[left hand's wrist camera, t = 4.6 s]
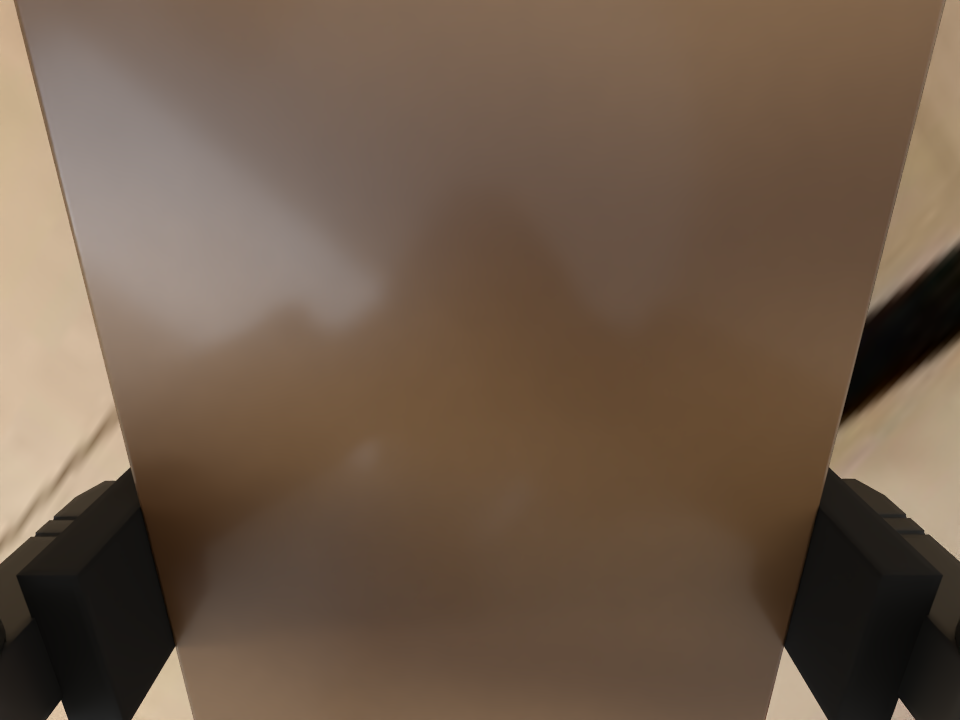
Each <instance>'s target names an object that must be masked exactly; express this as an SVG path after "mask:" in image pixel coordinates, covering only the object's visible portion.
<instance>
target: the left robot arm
mask: <svg viewBox="0 0 960 720" xmlns="http://www.w3.org/2000/svg"><path fill="white" fill-rule="evenodd" d="M784 647H785V649H786V650H787V652H788V654H789V655H790V657H791V659H792V660H793V662H794V664H795V665H796V667H797V669H798V670H799V672H800V674H801V675H802V677H803V679H804V680H805V682H806V684H807V685H808V687H809V689H810V690H811V692H812V694H813V695H814V697H815V699H816V700H817V702H818V704H819V705H820V707H821V709H822V710H823V712H824V714H825V715H826V717H827V719H828V720H891V718H892V715H893V712H894V709H895V707H896V704H897V701H898V698H900V700H901V701H902V702H903V704H904V705H905V706H906V708H907V709H908V710H909V712H910V713H911V714H912V716H913V717H914V718H915V720H960V561H958V560H957V559H956V558H955V557H954V556H953V555H952V554H950V553H949V552H948V551H947V550H946V549H945V548H944V547H943V546H941V545H940V544H939V543H938V542H937V541H936V540H935V539H933V538H932V537H931V536H930V535H925V533H924V530H923V529H922V528H921V527H920V526H919V525H918V524H916V523H915V522H914V521H913V520H912V519H911V518H906V514H905V513H904V512H903V511H902V510H901V509H900V508H898V507H897V506H896V505H895V504H894V503H893V502H892V501H890V500H889V499H888V498H887V497H886V496H885V495H883V494H881V493H880V492H878V491H876V490H874V489H872V488H870V487H869V486H867V485H865V484H863V483H861V482H860V481H858V480H856V479H841V478H840V477H839V476H838V475H836V474H835V473H834V472H833V471H832V470H831V469H830V468H828V472H827V476H826V480H825V484H824V488H823V492H822V496H821V500H820V504H819V508H818V512H817V516H816V520H815V524H814V528H813V532H812V536H811V540H810V544H809V548H808V552H807V556H806V560H805V564H804V568H803V572H802V576H801V580H800V584H799V588H798V592H797V596H796V600H795V604H794V608H793V612H792V616H791V620H790V624H789V628H788V632H787V636H786V640H785V644H784ZM174 648H175V642H174V638H173V634H172V630H171V626H170V622H169V618H168V614H167V610H166V606H165V602H164V598H163V594H162V590H161V586H160V582H159V578H158V574H157V570H156V566H155V562H154V558H153V554H152V550H151V546H150V542H149V538H148V534H147V530H146V526H145V523H144V519H143V515H142V511H141V507H140V503H139V499H138V495H137V491H136V487H135V483H134V479H133V475H132V471H131V467H130V468H129V469H128V470H127V471H126V472H125V473H124V474H123V475H122V476H121V477H120V478H119V479H118V480H116V481H104V482H102V483H100V484H99V485H97V486H95V487H93V488H91V489H90V490H88V491H86V492H84V493H82V494H80V495H79V496H77V497H75V498H74V499H73V500H72V501H71V502H70V503H68V504H67V505H66V506H65V507H64V508H63V509H62V510H61V511H59V512H58V513H57V514H56V515H55V516H54V519H53V520H49V521H48V522H47V523H46V524H45V525H44V526H43V527H41V528H40V529H39V530H38V531H37V532H36V535H35V537H30V538H29V539H28V540H27V541H26V542H25V543H23V544H22V545H21V546H20V547H19V548H18V549H17V550H16V551H14V552H13V553H12V554H11V555H10V556H9V557H8V558H7V559H5V560H4V561H3V562H2V563H1V564H0V720H46V719H47V718H48V717H49V715H50V714H51V713H52V711H53V710H54V709H55V707H56V706H57V705H58V703H59V702H60V701H62V703H63V706H64V709H65V712H66V714H67V717H68V720H131V719H132V718H133V716H134V714H135V713H136V711H137V709H138V708H139V706H140V704H141V703H142V701H143V699H144V698H145V696H146V694H147V693H148V691H149V689H150V688H151V686H152V684H153V683H154V681H155V679H156V678H157V676H158V674H159V673H160V671H161V669H162V668H163V666H164V664H165V663H166V661H167V659H168V658H169V656H170V654H171V653H172V651H173V649H174Z"/></svg>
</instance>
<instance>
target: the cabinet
mask: <svg viewBox="0 0 960 720" xmlns="http://www.w3.org/2000/svg"><path fill="white" fill-rule="evenodd" d="M945 1H946V0H14V3H15V7H16V11H17V15H18V19H19V23H20V27H21V31H22V35H23V39H24V43H25V47H26V51H27V55H28V59H29V63H30V67H31V71H32V75H33V79H34V83H35V87H36V91H37V95H38V99H39V103H40V107H41V111H42V115H43V119H44V123H45V127H46V131H47V135H48V139H49V143H50V147H51V151H52V155H53V159H54V163H55V167H56V171H57V175H58V179H59V183H60V187H61V191H62V195H63V199H64V203H65V207H66V211H67V215H68V219H69V223H70V227H71V231H72V235H73V239H74V243H75V247H76V251H77V255H78V259H79V263H80V267H81V271H82V275H83V279H84V283H85V287H86V291H87V295H88V299H89V303H90V307H91V311H92V315H93V319H94V323H95V327H96V331H97V335H98V339H99V343H100V347H101V351H102V355H103V359H104V363H105V367H106V371H107V375H108V379H109V383H110V387H111V391H112V395H113V399H114V403H115V407H116V411H117V415H118V419H119V423H120V427H121V431H122V435H123V439H124V443H125V447H126V451H127V455H128V459H129V463H130V467H131V471H132V475H133V479H134V483H135V487H136V491H137V495H138V499H139V503H140V507H141V511H142V515H143V519H144V523H145V526H146V530H147V534H148V538H149V542H150V546H151V550H152V554H153V558H154V562H155V566H156V570H157V574H158V578H159V582H160V586H161V590H162V594H163V598H164V602H165V606H166V610H167V614H168V618H169V622H170V626H171V630H172V634H173V638H174V642H175V646H176V650H177V654H178V658H179V662H180V666H181V670H182V674H183V678H184V682H185V686H186V690H187V694H188V698H189V702H190V706H191V710H192V714H193V718H194V720H765V719H766V715H767V711H768V707H769V703H770V699H771V695H772V691H773V687H774V683H775V679H776V675H777V671H778V668H779V664H780V660H781V656H782V652H783V648H784V644H785V640H786V636H787V632H788V628H789V624H790V620H791V616H792V612H793V608H794V604H795V600H796V596H797V592H798V588H799V584H800V580H801V576H802V572H803V568H804V564H805V560H806V556H807V552H808V548H809V544H810V540H811V536H812V532H813V528H814V524H815V520H816V516H817V512H818V508H819V504H820V500H821V496H822V492H823V488H824V484H825V480H826V476H827V472H828V468H829V464H830V460H831V456H832V452H833V448H834V444H835V440H836V436H837V432H838V428H839V424H840V420H841V416H842V412H843V408H844V404H845V400H846V396H847V392H848V388H849V384H850V380H851V376H852V372H853V368H854V364H855V360H856V356H857V352H858V348H859V344H860V340H861V336H862V332H863V328H864V324H865V320H866V316H867V312H868V308H869V304H870V300H871V296H872V292H873V288H874V284H875V280H876V276H877V272H878V268H879V264H880V260H881V256H882V252H883V248H884V244H885V240H886V236H887V233H888V229H889V225H890V221H891V217H892V213H893V209H894V205H895V201H896V197H897V193H898V189H899V185H900V181H901V177H902V173H903V169H904V165H905V161H906V157H907V153H908V149H909V145H910V141H911V137H912V133H913V129H914V125H915V121H916V117H917V113H918V109H919V105H920V101H921V97H922V93H923V89H924V85H925V81H926V77H927V73H928V69H929V65H930V61H931V57H932V53H933V49H934V45H935V41H936V37H937V33H938V29H939V25H940V21H941V17H942V13H943V9H944V5H945Z"/></svg>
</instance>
